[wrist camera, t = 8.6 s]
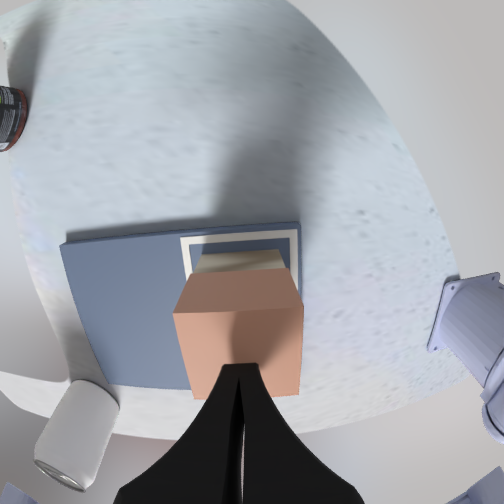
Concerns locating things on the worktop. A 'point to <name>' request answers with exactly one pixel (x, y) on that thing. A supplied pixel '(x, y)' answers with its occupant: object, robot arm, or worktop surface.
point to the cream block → (239, 261)
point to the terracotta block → (241, 327)
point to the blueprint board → (154, 293)
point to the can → (77, 435)
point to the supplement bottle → (11, 116)
